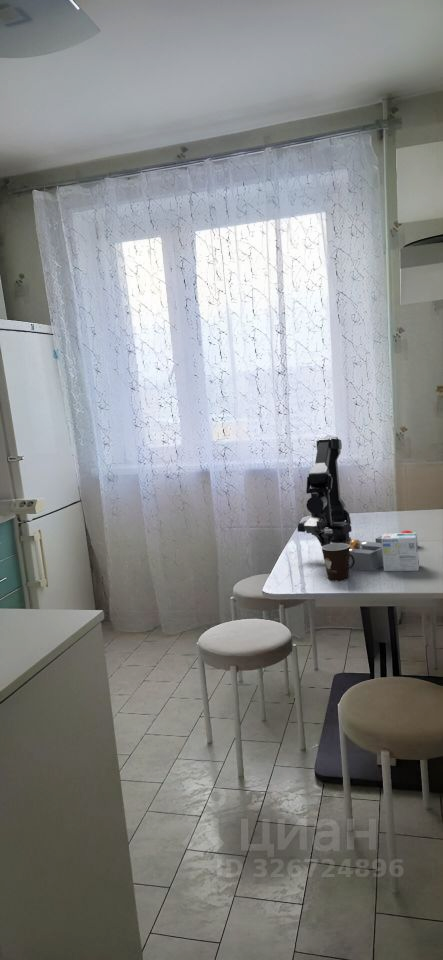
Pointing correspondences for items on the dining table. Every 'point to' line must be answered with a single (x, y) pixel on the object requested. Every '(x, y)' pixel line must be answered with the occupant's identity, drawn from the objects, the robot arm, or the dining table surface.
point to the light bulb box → (400, 552)
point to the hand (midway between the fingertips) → (326, 551)
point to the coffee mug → (337, 561)
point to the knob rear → (356, 544)
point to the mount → (368, 556)
